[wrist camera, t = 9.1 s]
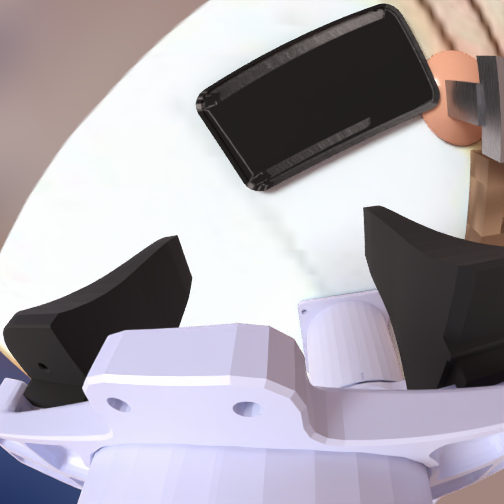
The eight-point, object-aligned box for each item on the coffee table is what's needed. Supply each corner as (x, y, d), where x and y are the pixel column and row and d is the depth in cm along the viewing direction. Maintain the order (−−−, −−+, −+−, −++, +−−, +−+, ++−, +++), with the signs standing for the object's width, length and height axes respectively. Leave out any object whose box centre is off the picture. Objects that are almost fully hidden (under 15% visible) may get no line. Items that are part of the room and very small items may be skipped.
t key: (476, 138, 18) (525, 162, 13) (448, 139, 18) (496, 162, 13) (470, 59, 15) (523, 61, 10) (441, 56, 15) (491, 55, 10)
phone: (188, 99, 18) (393, -1, 14) (193, 98, 19) (387, 2, 14) (253, 198, 21) (445, 104, 17) (254, 192, 22) (438, 103, 18)
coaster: (494, 143, 18) (497, 145, 18) (420, 146, 19) (422, 147, 19) (488, 55, 15) (491, 55, 14) (409, 48, 16) (411, 47, 15)
